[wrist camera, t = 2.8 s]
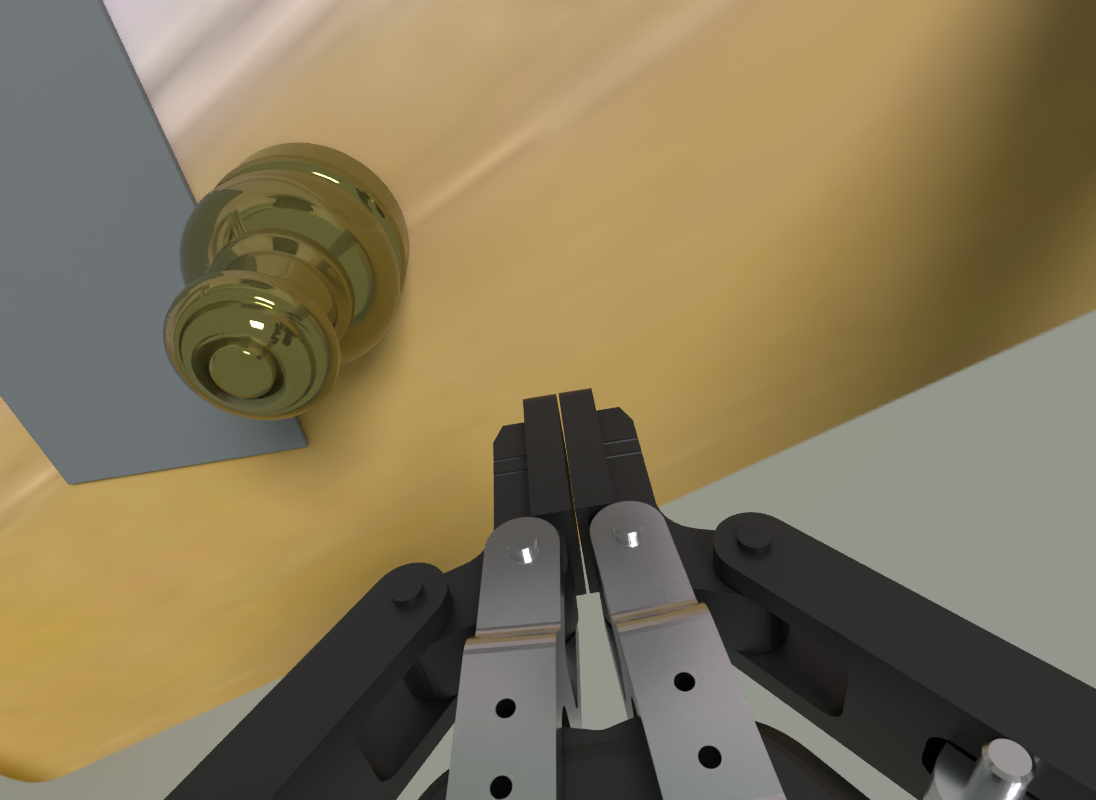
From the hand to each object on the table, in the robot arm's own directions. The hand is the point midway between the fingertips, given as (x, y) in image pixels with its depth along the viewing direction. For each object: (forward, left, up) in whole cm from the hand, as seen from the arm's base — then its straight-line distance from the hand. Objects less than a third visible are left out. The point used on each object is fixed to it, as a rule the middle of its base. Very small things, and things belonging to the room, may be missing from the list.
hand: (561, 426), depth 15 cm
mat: (+19, 0, -15) cm, 24 cm away
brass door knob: (+9, 0, -15) cm, 17 cm away
